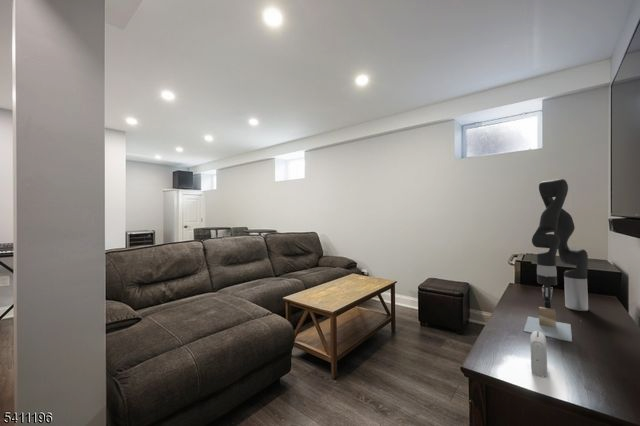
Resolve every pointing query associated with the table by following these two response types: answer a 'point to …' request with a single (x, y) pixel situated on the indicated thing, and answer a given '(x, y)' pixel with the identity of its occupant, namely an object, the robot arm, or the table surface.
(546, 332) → the mat
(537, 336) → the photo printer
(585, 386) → the table surface
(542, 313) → the tile
